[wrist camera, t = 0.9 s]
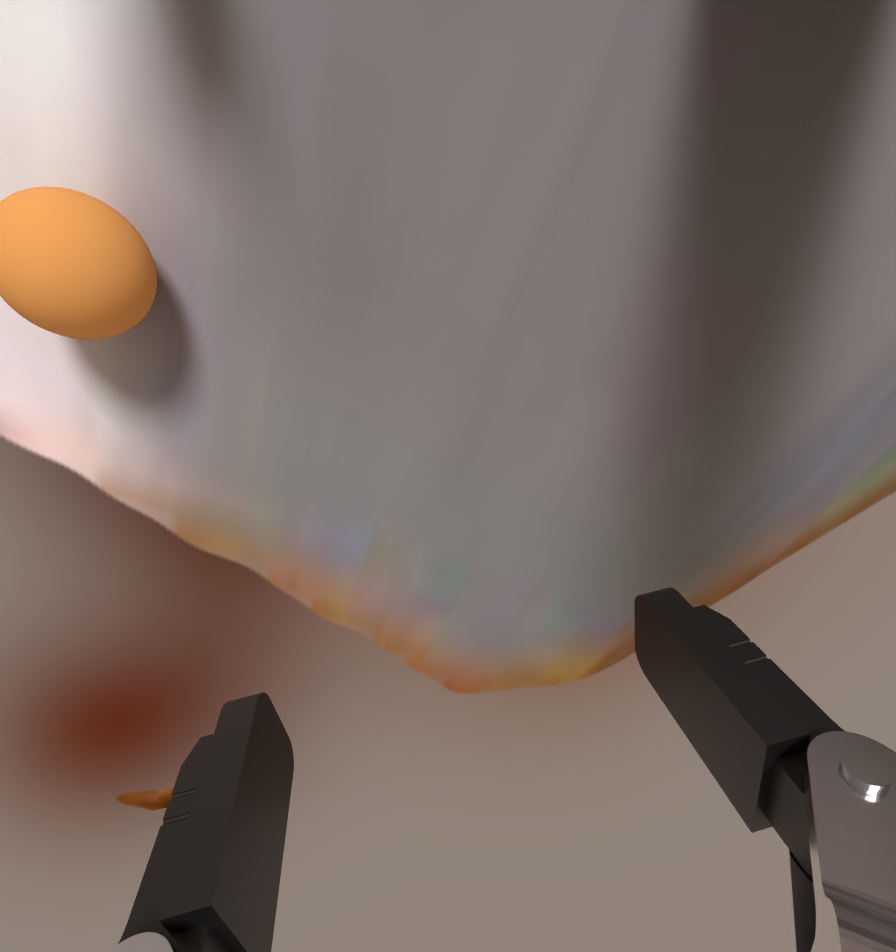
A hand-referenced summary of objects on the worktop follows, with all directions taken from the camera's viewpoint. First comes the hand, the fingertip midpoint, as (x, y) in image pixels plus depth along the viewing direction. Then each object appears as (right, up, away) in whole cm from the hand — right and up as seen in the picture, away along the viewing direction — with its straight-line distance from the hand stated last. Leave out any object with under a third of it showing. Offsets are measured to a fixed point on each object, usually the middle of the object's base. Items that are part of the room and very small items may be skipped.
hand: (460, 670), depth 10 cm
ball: (-15, +13, +9) cm, 22 cm away
